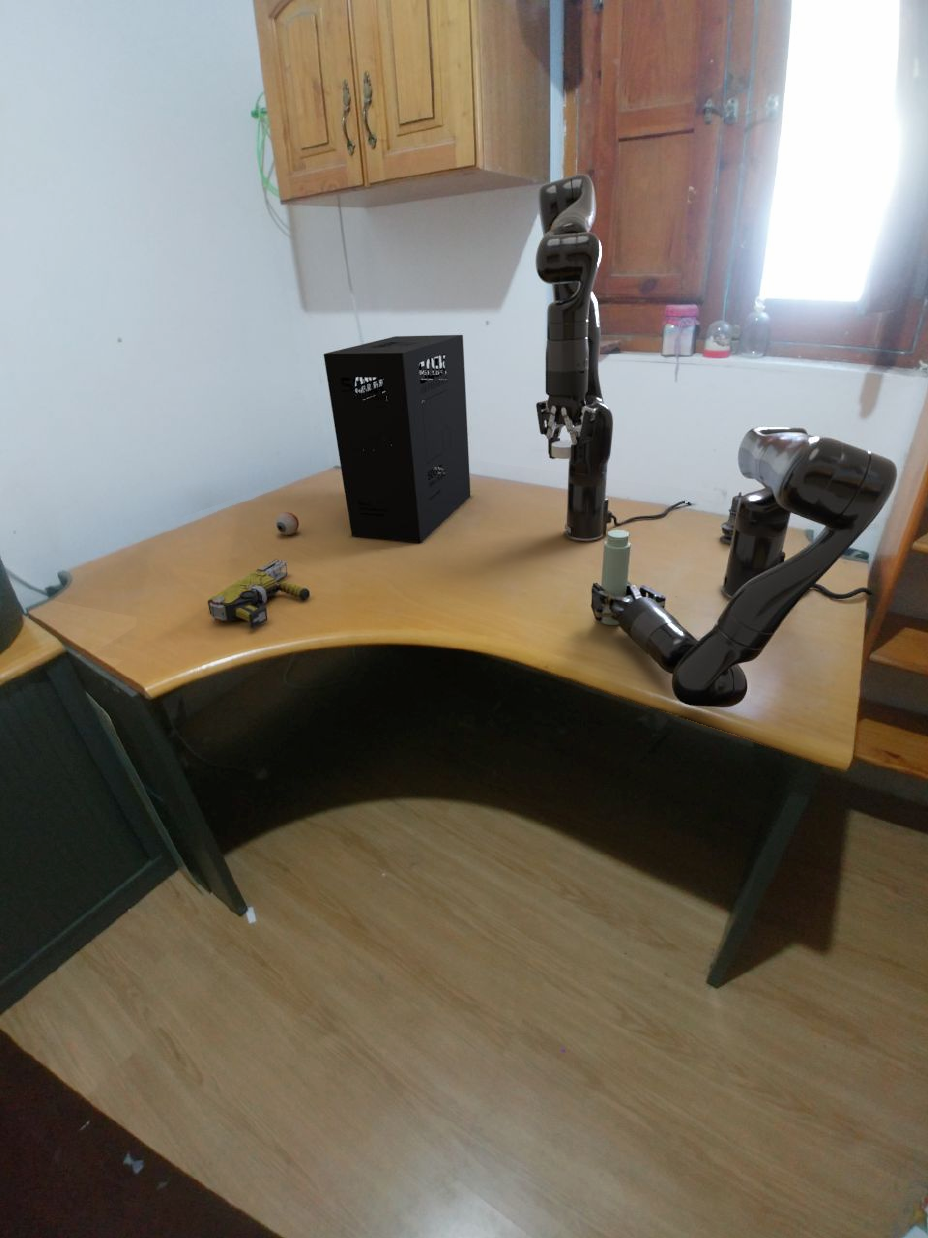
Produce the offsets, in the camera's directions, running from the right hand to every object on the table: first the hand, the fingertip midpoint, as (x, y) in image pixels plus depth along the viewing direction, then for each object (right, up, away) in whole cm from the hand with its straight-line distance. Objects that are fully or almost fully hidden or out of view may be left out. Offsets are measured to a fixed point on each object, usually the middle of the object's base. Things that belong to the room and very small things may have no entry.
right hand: (607, 585), depth 116 cm
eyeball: (-76, +17, +49) cm, 91 cm away
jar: (+1, -7, +1) cm, 7 cm away
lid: (-8, +26, -2) cm, 28 cm away
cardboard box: (-42, +23, +57) cm, 74 cm away
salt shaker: (+37, +13, +30) cm, 50 cm away
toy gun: (-69, -3, +14) cm, 71 cm away
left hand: (-8, +24, -1) cm, 25 cm away
